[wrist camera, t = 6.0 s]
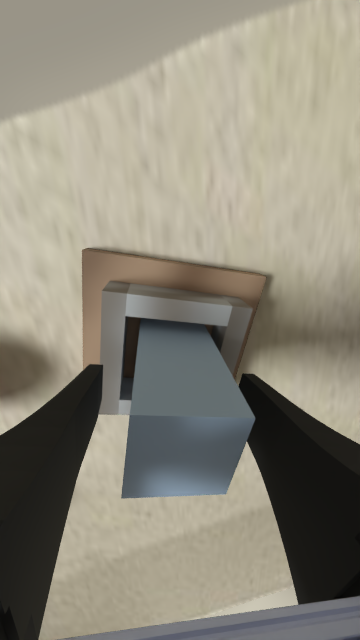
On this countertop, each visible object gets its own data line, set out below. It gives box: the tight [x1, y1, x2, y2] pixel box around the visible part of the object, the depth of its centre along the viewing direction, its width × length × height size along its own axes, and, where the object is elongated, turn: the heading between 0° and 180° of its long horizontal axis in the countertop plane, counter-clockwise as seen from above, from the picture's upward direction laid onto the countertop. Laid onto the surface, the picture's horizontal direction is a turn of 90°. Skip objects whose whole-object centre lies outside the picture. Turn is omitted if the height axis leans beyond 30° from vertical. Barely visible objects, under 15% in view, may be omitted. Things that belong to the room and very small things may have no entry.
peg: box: [121, 318, 255, 498], centre depth 11 cm, size 4×4×8 cm
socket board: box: [82, 248, 267, 415], centre depth 14 cm, size 11×11×3 cm
